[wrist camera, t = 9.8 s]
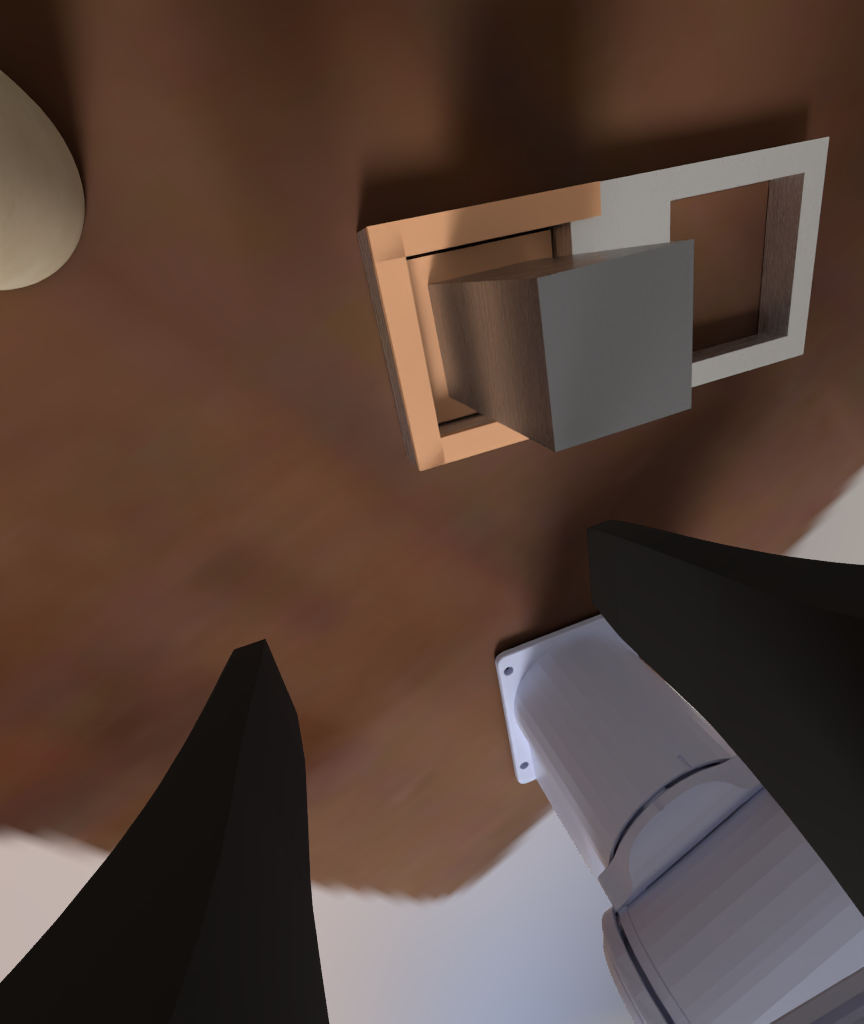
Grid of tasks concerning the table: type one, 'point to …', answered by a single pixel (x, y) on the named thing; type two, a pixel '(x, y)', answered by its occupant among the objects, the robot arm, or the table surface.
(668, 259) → the grey rectangular block
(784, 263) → the orange and grey frame
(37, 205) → the candle
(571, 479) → the table surface
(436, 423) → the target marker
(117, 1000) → the robot arm
